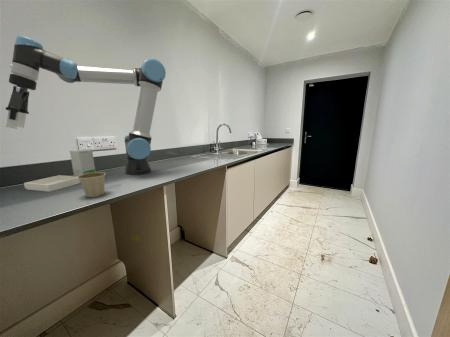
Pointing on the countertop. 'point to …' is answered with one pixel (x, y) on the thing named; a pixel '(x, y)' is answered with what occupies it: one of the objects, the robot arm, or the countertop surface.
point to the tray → (52, 183)
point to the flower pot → (93, 183)
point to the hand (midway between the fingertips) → (15, 127)
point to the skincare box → (82, 162)
